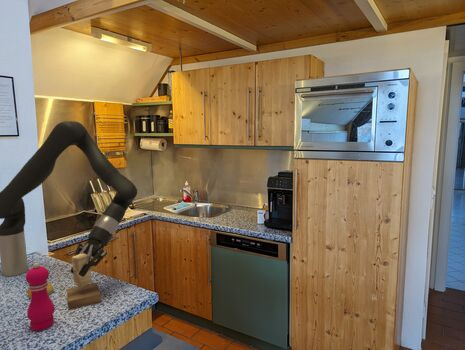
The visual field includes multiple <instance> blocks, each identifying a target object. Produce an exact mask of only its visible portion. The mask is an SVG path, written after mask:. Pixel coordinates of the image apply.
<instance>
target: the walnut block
mask: <svg viewBox="0 0 465 350" xmlns="http://www.w3.org/2000/svg"><path fill="white" fill-rule="evenodd" d="M101 296H102V295H101V292H100V288H99V286H98V283H97V282H96V281H95V282H92V283H89V284H87V285H85V286H83V287H79V286H75V287H69V288H66V297H67V305H68V311H70V310H74V309H79V308H83V307H86V306H87V307H88V306H92V305H96V304H99V303H102V298H101Z"/></svg>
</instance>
